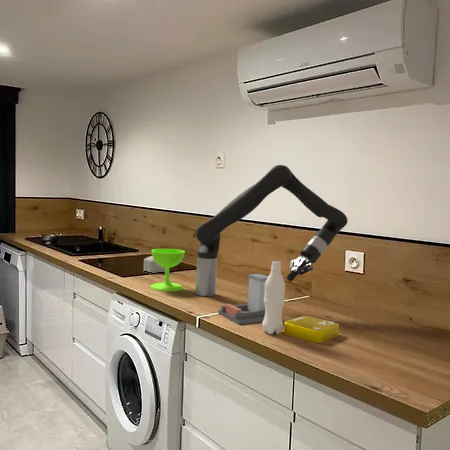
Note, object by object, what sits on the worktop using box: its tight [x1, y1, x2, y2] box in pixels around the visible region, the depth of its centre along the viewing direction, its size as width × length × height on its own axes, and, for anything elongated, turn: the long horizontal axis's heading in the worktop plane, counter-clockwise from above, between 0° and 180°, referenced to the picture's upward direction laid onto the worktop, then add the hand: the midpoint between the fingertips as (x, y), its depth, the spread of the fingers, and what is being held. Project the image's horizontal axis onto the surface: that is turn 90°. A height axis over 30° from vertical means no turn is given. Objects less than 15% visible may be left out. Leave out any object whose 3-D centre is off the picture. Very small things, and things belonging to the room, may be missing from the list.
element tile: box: [283, 315, 340, 344], centre depth 167 cm, size 15×15×5 cm
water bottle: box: [261, 260, 286, 335], centre depth 166 cm, size 7×7×25 cm
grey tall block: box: [247, 273, 269, 311], centre depth 187 cm, size 8×5×14 cm, turn 29°
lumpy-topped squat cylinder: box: [143, 255, 166, 274], centre depth 272 cm, size 10×13×9 cm
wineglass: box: [149, 248, 186, 292], centre depth 230 cm, size 16×16×18 cm
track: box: [217, 303, 265, 326], centre depth 185 cm, size 16×18×4 cm
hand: (288, 279), depth 194 cm, fingers closed
